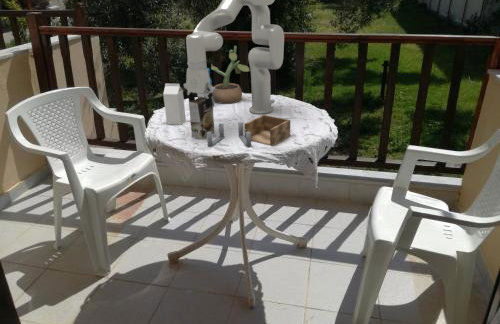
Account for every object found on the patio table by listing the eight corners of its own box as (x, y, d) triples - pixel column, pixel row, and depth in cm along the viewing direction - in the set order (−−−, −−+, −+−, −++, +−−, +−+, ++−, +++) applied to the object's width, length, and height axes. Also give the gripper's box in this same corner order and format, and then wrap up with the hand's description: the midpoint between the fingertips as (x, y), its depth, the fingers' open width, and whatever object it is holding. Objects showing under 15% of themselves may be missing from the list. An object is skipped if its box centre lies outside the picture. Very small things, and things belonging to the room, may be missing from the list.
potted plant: (204, 102, 235) (200, 46, 222) (224, 94, 248) (221, 41, 236) (238, 107, 223) (235, 49, 210) (256, 99, 236) (255, 44, 224)
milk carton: (180, 125, 201) (176, 85, 193) (166, 124, 203) (162, 85, 195) (185, 120, 208) (182, 81, 200) (172, 119, 209) (167, 81, 201)
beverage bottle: (213, 108, 223) (210, 70, 215) (197, 108, 224) (193, 71, 215) (214, 103, 231) (212, 67, 223) (199, 104, 231) (196, 67, 223)
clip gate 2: (243, 135, 186) (242, 122, 184) (252, 146, 174) (251, 132, 172) (237, 135, 186) (237, 122, 183) (246, 147, 174) (246, 133, 171)
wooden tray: (263, 129, 192) (263, 114, 189) (290, 135, 184) (290, 120, 181) (245, 139, 182) (244, 123, 179) (272, 145, 174) (272, 129, 171)
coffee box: (202, 139, 183) (199, 103, 176) (191, 137, 186) (187, 101, 180) (215, 132, 190) (212, 98, 183) (204, 130, 193) (201, 96, 186)
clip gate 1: (220, 136, 186) (219, 123, 183) (225, 137, 185) (224, 124, 182) (206, 146, 176) (205, 132, 173) (211, 147, 175) (210, 133, 172)
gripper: (176, 64, 177) (179, 104, 184) (206, 69, 168) (209, 110, 175) (188, 61, 183) (191, 100, 190) (219, 65, 173) (221, 106, 180)
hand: (200, 105), depth 182 cm, fingers open, 9 cm apart
